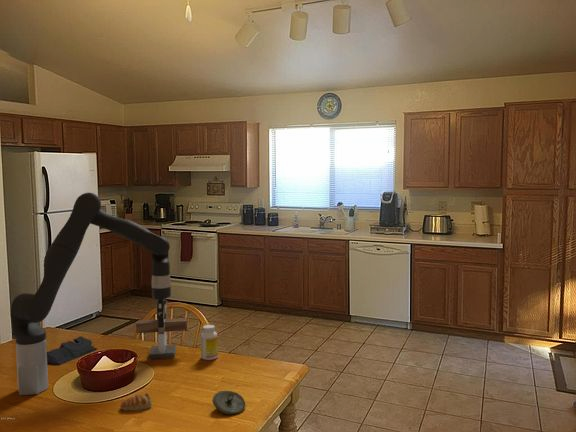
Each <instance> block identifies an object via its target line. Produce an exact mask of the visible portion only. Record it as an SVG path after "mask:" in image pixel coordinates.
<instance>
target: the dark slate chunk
mask: <svg viewBox="0 0 576 432" xmlns="http://www.w3.org/2000/svg"><path fill="white" fill-rule="evenodd" d="M92 344H93V341H92V340H91V339H89V338H86V337H83V336H78V337H76V338H73V339H72V340H68V341H66V342H62V343H61V344H60V346H59V347H58V348H55V349H51V350H48V351H47V364H51V365H55V366H61V365H64V364H66V363H68V362H72V361H74V360H76V359H79V358H82V357H83V356H86V355H89V354H91V353H92V352H95V351H97V350H98V348H97V347H95V346H94V345H92Z"/></svg>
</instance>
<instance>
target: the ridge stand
mask: <svg viewBox="0 0 576 432" xmlns="http://www.w3.org/2000/svg"><path fill="white" fill-rule="evenodd" d="M157 333H158V334H157V338H158V339H157V341H158V342H157V343H158V345H151V347H150V349H149V353H148V360H157V359H174V358H176V351H177V344H168V342H167V341H168V339H167V332H157Z"/></svg>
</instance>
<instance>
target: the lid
mask: <svg viewBox="0 0 576 432" xmlns="http://www.w3.org/2000/svg"><path fill="white" fill-rule="evenodd" d="M212 404H213V405H214V407H215V408H216V410H217V411H219V412H221V413H222V414H224V415H227V416H232V415H237V414H241V413H243V411H244V410H245V409H246V401H245V398H244V397H243V396H242V395H241V394H240V393H238V392H235V391H231V390H222V391H218V392H216V393H215V394H214V395H213V398H212Z"/></svg>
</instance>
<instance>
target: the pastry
mask: <svg viewBox="0 0 576 432" xmlns="http://www.w3.org/2000/svg"><path fill="white" fill-rule="evenodd" d="M152 406H153V402H152V399H151V394H150V392H146V393H140V394H134V395H133V396H131V397H130V398H127V399H125V400H124V401H122V402H121V403H120V409H121V410H123V411H124V412H131V411H132V412H137V411H141V410H147V409H150V408H152Z"/></svg>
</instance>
